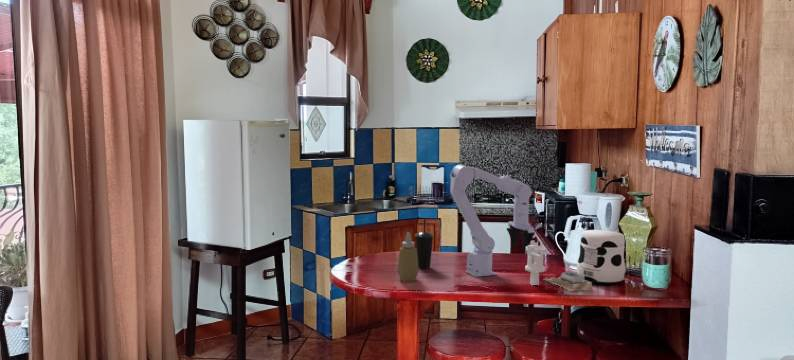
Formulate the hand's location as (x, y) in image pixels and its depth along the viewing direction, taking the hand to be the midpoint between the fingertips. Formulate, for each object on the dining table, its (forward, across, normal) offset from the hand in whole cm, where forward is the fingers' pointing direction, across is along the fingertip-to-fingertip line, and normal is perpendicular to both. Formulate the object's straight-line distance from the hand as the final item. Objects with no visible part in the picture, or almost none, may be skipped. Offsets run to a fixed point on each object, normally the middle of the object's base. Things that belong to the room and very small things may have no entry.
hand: (519, 247), depth 221 cm
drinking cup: (+10, +19, +33) cm, 39 cm away
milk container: (+10, -21, -22) cm, 32 cm away
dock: (+11, -20, -7) cm, 24 cm away
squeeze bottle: (+10, +5, +46) cm, 47 cm away
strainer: (+10, -17, +5) cm, 20 cm away
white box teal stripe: (+9, -24, -6) cm, 26 cm away
